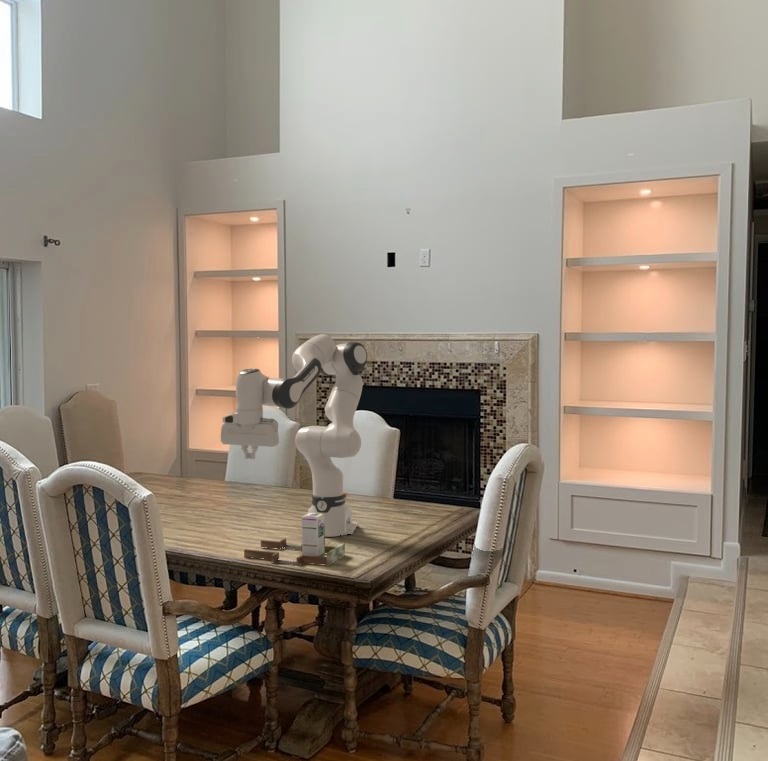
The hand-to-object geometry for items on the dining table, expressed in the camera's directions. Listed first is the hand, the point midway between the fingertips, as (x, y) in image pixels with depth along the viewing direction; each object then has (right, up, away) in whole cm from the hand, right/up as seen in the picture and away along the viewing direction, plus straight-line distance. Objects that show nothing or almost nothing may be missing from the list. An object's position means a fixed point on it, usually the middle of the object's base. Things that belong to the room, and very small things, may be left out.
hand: (250, 458), depth 271 cm
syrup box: (+22, -32, -8) cm, 39 cm away
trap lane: (+16, -31, -4) cm, 36 cm away
